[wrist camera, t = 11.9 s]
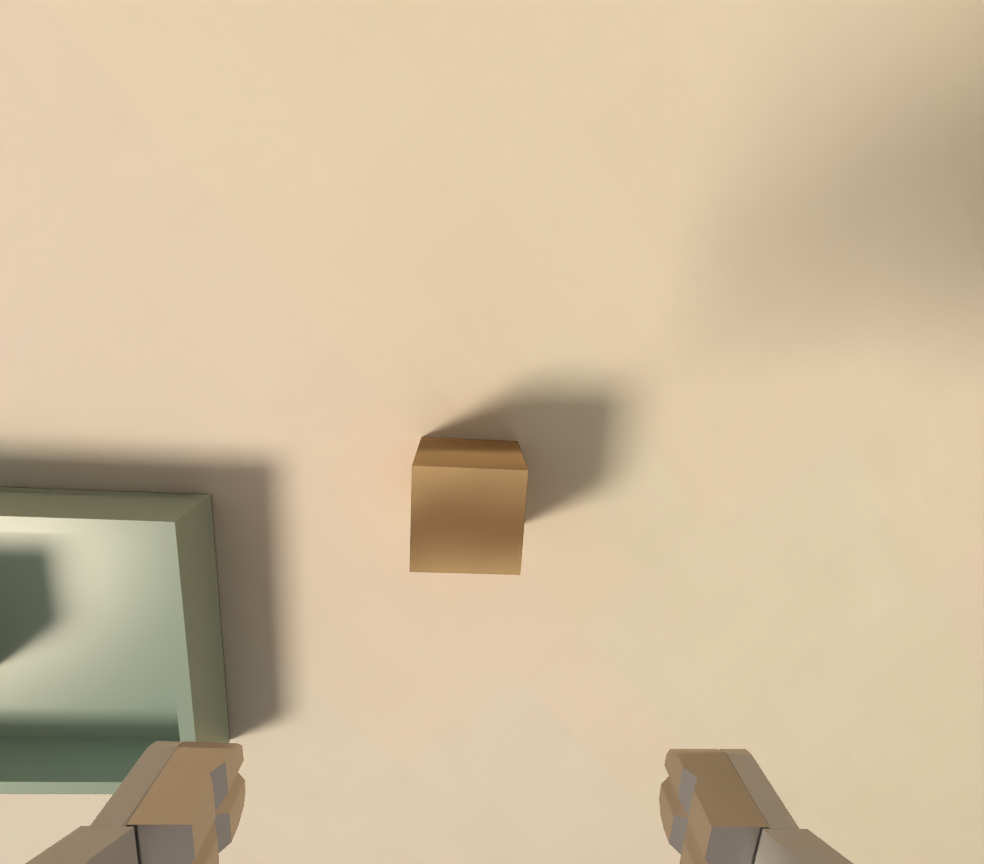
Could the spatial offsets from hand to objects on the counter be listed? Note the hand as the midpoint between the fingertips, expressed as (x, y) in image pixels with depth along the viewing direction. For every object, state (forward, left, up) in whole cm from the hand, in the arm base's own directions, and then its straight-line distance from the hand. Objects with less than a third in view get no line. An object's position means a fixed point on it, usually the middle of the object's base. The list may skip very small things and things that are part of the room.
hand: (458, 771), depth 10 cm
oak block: (0, 0, -15) cm, 15 cm away
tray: (+8, -21, -15) cm, 27 cm away
